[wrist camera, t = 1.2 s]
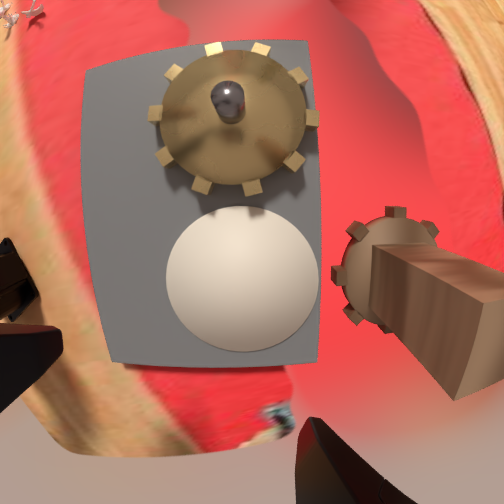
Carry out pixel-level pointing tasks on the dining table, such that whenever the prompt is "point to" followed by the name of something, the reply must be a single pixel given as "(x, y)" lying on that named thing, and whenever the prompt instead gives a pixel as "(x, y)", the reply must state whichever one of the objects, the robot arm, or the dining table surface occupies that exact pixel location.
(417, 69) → the dining table surface
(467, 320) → the walnut gear
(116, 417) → the dining table surface
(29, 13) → the game piece set
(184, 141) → the brass gear
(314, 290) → the gear board
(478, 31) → the dining table surface
